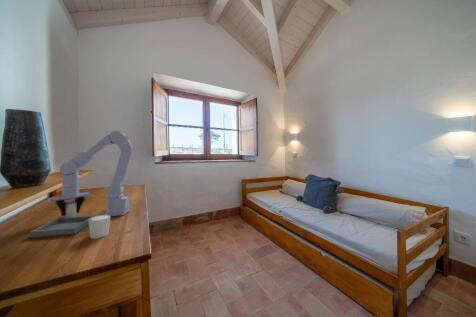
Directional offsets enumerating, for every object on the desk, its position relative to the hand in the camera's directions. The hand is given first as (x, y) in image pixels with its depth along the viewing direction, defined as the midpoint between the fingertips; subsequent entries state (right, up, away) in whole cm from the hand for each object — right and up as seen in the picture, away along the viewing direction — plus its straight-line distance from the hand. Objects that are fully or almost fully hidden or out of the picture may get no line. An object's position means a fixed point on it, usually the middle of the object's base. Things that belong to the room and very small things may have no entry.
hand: (70, 213), depth 82 cm
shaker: (0, -2, 0) cm, 2 cm away
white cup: (+27, -4, -15) cm, 31 cm away
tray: (+9, -3, -11) cm, 14 cm away
